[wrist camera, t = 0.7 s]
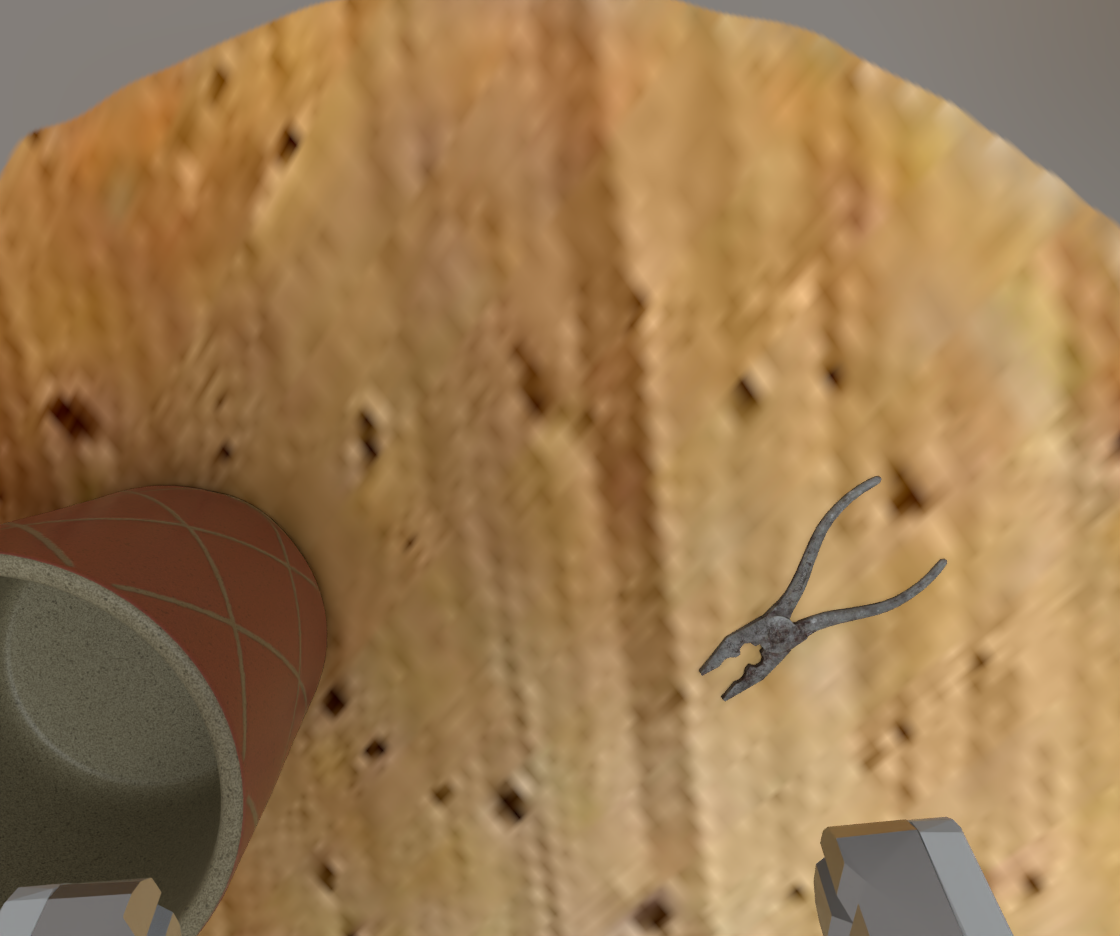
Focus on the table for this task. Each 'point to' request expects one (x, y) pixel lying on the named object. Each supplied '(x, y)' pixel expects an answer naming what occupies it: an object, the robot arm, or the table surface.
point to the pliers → (776, 624)
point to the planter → (148, 689)
